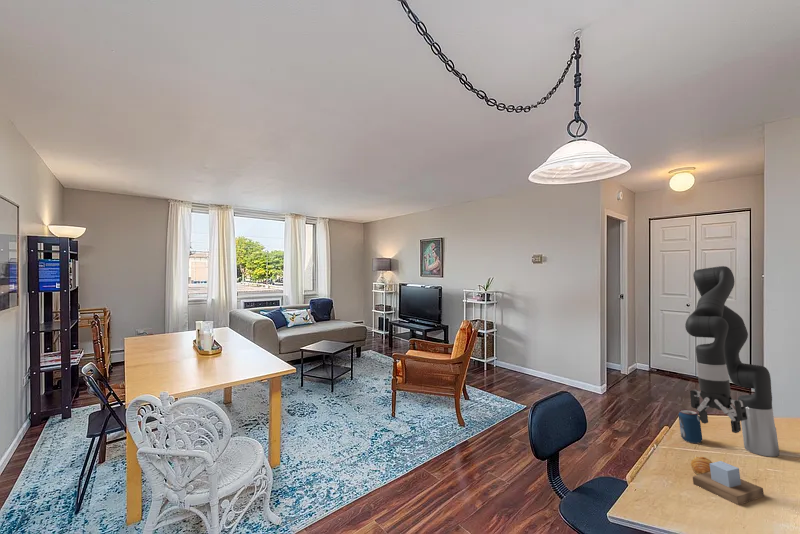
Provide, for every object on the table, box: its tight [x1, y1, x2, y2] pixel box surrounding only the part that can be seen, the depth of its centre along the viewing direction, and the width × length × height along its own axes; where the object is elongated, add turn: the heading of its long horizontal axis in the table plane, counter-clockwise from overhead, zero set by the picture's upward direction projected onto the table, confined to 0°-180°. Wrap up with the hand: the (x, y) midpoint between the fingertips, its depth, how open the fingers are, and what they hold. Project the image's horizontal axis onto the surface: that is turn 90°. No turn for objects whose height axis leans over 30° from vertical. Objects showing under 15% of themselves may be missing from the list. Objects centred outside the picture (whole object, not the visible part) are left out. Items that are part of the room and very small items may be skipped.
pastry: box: [690, 456, 713, 475], centre depth 119 cm, size 9×7×4 cm
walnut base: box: [692, 471, 765, 506], centre depth 108 cm, size 12×12×3 cm
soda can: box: [677, 408, 703, 444], centre depth 143 cm, size 7×7×12 cm
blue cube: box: [710, 460, 741, 488], centre depth 108 cm, size 5×5×5 cm
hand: (719, 427), depth 109 cm, fingers open, 8 cm apart
